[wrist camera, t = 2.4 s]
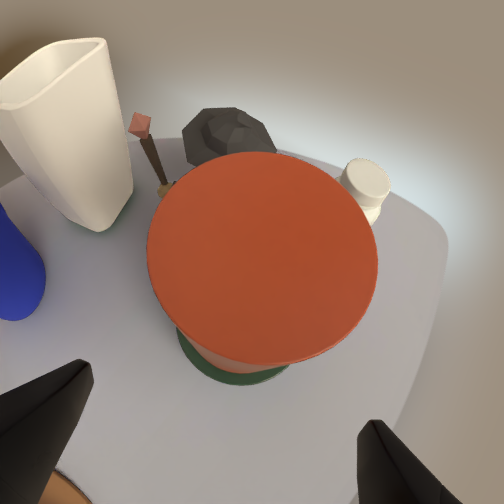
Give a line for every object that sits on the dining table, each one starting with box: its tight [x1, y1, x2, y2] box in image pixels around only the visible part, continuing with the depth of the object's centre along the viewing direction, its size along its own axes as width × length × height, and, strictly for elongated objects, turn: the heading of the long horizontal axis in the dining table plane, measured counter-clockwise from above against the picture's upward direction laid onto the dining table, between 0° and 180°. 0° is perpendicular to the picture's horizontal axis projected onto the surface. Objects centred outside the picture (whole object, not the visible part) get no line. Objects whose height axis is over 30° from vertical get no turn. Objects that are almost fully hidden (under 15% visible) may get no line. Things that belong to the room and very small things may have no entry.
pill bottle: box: [335, 158, 391, 226], centre depth 21 cm, size 4×4×8 cm
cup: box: [0, 38, 133, 232], centre depth 17 cm, size 7×7×15 cm
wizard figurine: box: [128, 108, 277, 199], centre depth 19 cm, size 8×6×12 cm
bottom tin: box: [176, 326, 290, 386], centre depth 18 cm, size 8×8×4 cm
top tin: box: [146, 152, 378, 374], centre depth 12 cm, size 6×6×10 cm
